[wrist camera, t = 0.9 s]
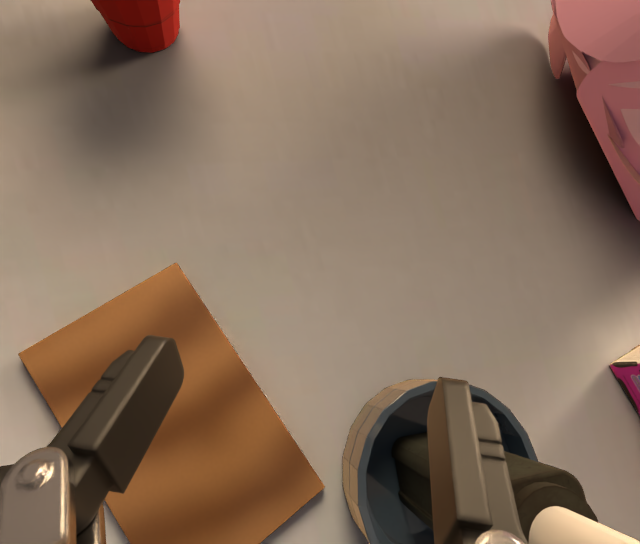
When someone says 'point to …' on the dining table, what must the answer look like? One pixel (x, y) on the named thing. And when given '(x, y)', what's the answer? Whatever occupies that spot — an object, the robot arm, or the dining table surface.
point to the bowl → (379, 466)
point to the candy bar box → (629, 375)
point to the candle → (529, 492)
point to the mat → (184, 422)
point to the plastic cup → (142, 22)
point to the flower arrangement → (604, 77)
